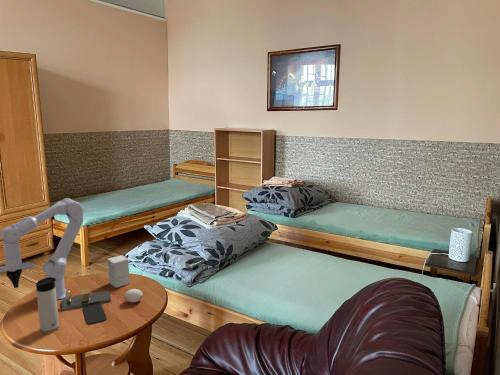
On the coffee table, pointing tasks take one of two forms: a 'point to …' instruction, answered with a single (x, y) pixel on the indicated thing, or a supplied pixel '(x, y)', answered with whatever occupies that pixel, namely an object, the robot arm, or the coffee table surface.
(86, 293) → the wooden block
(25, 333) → the coffee table surface
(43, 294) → the travel mug
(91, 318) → the phone
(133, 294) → the stress ball
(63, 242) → the robot arm
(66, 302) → the plate
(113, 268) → the supplement box
